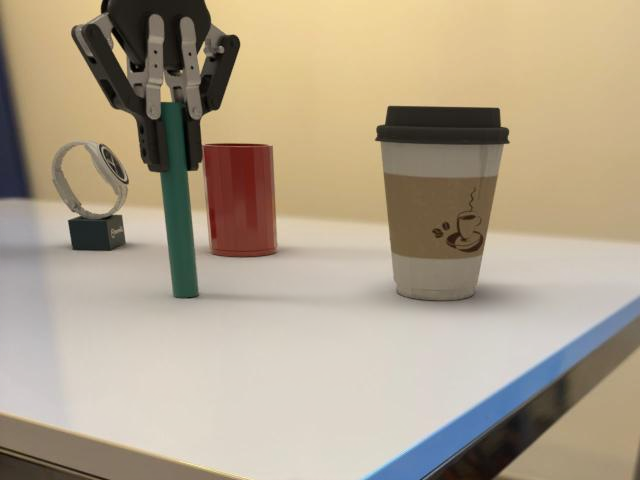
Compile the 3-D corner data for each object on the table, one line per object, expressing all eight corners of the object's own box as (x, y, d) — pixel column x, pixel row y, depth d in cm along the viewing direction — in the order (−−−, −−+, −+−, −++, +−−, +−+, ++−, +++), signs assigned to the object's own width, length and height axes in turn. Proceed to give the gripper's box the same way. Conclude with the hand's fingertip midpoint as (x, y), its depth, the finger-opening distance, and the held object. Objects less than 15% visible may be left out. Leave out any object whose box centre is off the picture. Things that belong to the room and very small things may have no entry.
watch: (127, 250, 88) (113, 143, 83) (56, 249, 88) (38, 141, 83) (142, 242, 93) (129, 140, 88) (75, 241, 93) (58, 139, 88)
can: (197, 250, 89) (187, 143, 84) (252, 243, 94) (246, 142, 89) (234, 259, 84) (226, 147, 79) (290, 252, 89) (286, 145, 84)
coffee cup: (421, 311, 64) (429, 106, 57) (349, 286, 72) (348, 105, 65) (524, 297, 70) (542, 108, 63) (446, 275, 78) (455, 106, 71)
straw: (168, 294, 68) (147, 101, 61) (190, 291, 70) (172, 102, 63) (181, 299, 67) (161, 101, 60) (203, 295, 68) (186, 102, 61)
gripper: (203, -72, 62) (220, 165, 70) (28, -102, 54) (71, 171, 62) (257, -85, 57) (269, 171, 65) (75, -121, 49) (115, 178, 57)
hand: (173, 170), depth 64 cm, fingers closed on straw, 2 cm apart
